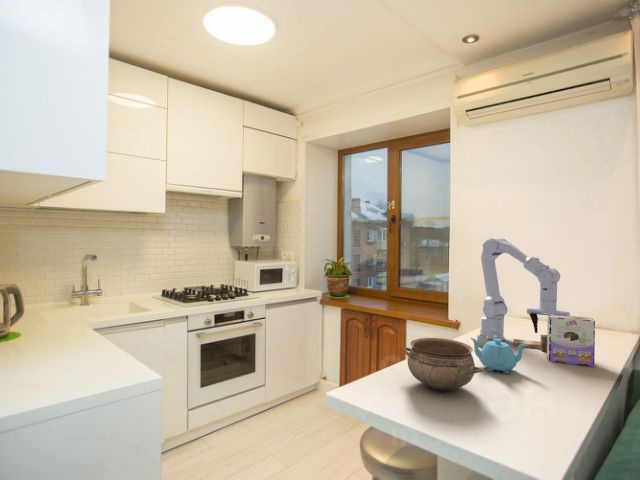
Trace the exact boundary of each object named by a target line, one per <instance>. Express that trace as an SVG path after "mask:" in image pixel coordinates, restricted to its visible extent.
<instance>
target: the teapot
mask: <svg viewBox="0 0 640 480" xmlns="http://www.w3.org/2000/svg"><path fill="white" fill-rule="evenodd" d="M470 339H471V340H472V341H473V345H474V346H473V348H474V349H473V351H474V354H475V356H476V357H477V358H478V359H479V362H480V363H481V364H482V365H483V366H484V367H485V368H487V369H486V371H487V372H490V373H492V372H494V370H495V371H502V373H503V374H506V375H510V374H511V373H510V371H511V370H514V368H515V367H516V366H517V363H519V362H520V361H521V360H522V358H523V350H524V348H525V347H524V346H525V345H526V344H527V343H525V344H521V345H520V346H519V347H517V348H518V349H517V352H516V353H514V350H512V347H511V346H510V345H509V344H508V343H506V342H503V340H500V339H497V335H495V334H494V335H493V339H492V340H491V341H490V340H489V342H487V343H486V344H485V345H484V347H481V348H482V349H480V348H479V346H478V342H477V338H476V339H475V338H473V337H470Z"/></svg>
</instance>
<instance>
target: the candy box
mask: <svg viewBox="0 0 640 480" xmlns="http://www.w3.org/2000/svg"><path fill="white" fill-rule="evenodd" d="M546 333H547V334H546V335H547V352H546V358H547V361H548V362H551V363H560V364H567V365H575V366H584V367H592V368H594V367H595V361H596V360H595V359H596V358H595V349H596V347H595V345H596V343H595V340H596V337H595V336H596V320H595V319H594V318H593V317H587V316H586V317H585V316H584V317H583V316H575V315H573V316H572V315H570V316H564V315H552V314H548V315H547V332H546Z"/></svg>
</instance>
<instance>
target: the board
mask: <svg viewBox="0 0 640 480" xmlns="http://www.w3.org/2000/svg"><path fill="white" fill-rule="evenodd" d="M525 343H527V344H526V345H525V346H524V347H523V348H526V349H527V348H529V349H537V350H540V344H541V341H536V340H528V339H517V338H513V345H514V347H517V348H519V346H520V345H521V344H525Z"/></svg>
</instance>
